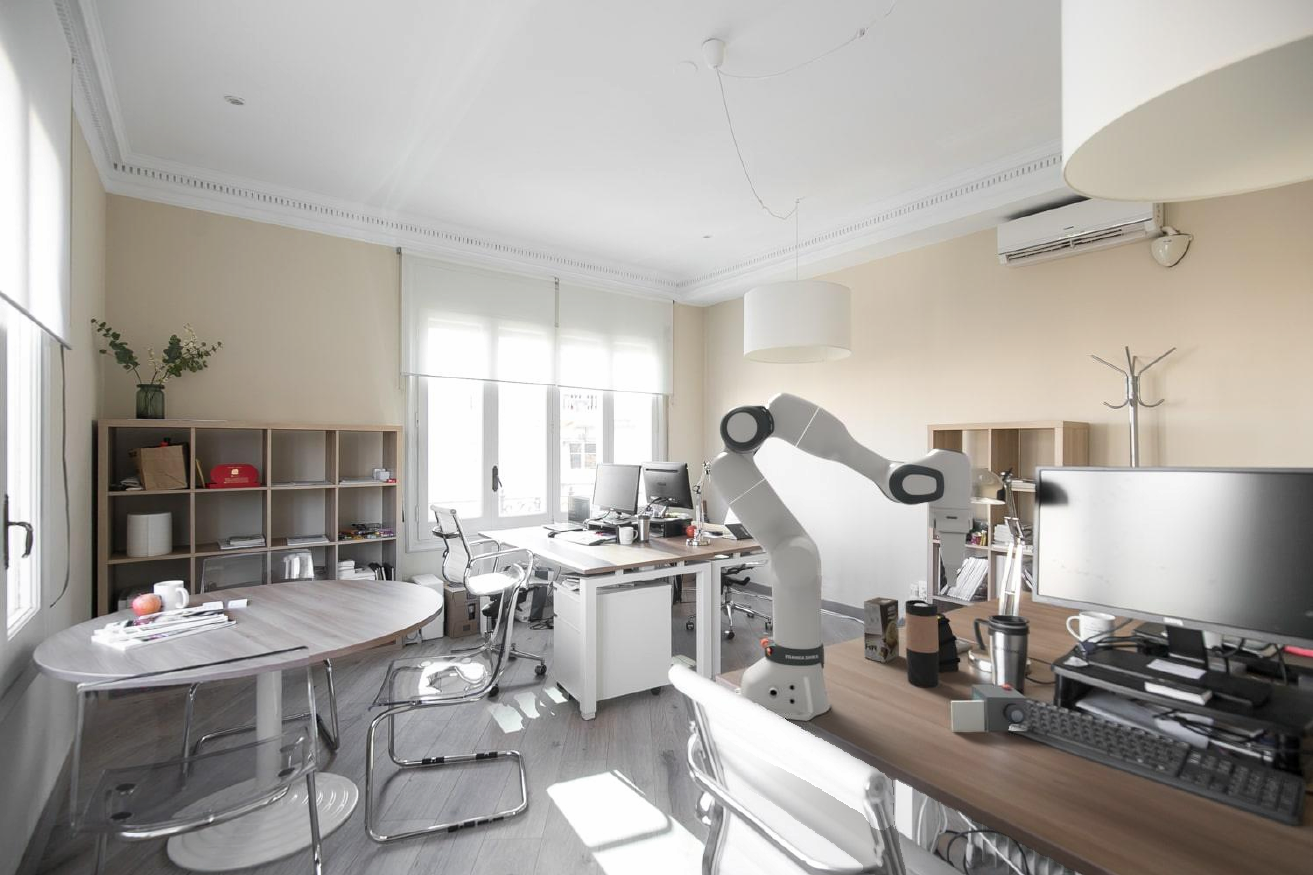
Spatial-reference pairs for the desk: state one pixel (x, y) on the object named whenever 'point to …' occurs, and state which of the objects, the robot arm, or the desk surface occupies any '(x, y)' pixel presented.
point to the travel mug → (922, 643)
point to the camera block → (1001, 705)
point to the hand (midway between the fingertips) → (950, 582)
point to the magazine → (947, 646)
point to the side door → (969, 715)
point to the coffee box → (881, 629)
